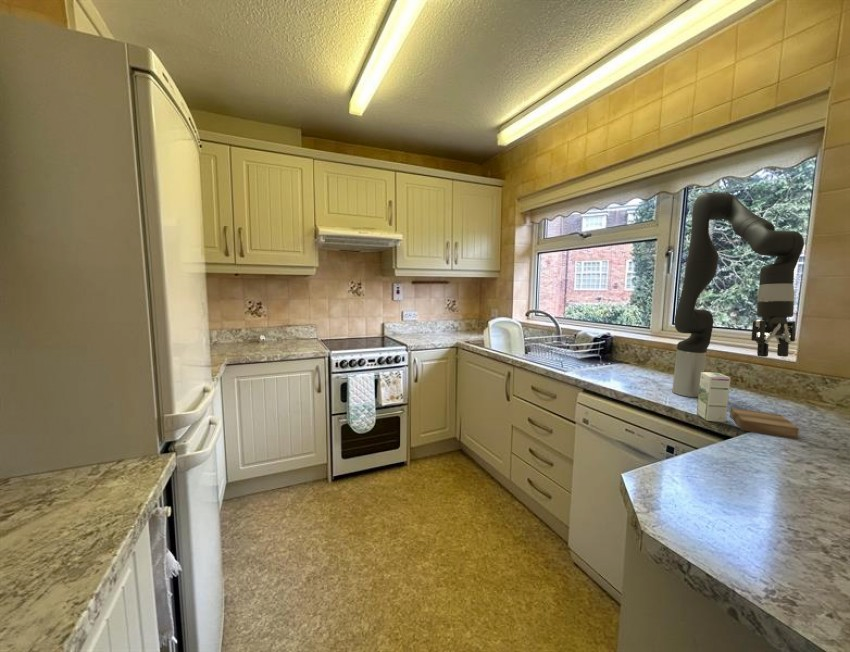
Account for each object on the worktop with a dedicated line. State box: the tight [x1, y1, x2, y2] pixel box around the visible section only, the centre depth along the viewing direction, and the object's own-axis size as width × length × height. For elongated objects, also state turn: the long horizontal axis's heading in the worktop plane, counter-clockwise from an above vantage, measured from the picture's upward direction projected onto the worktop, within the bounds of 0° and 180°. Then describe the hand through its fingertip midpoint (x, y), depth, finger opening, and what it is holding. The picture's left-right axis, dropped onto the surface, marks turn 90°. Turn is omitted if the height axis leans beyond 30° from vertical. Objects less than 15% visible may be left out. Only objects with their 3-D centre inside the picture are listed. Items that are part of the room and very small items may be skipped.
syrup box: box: [696, 371, 731, 423], centre depth 113 cm, size 6×6×14 cm
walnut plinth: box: [729, 407, 800, 440], centre depth 107 cm, size 12×12×3 cm
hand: (772, 356), depth 103 cm, fingers open, 8 cm apart
